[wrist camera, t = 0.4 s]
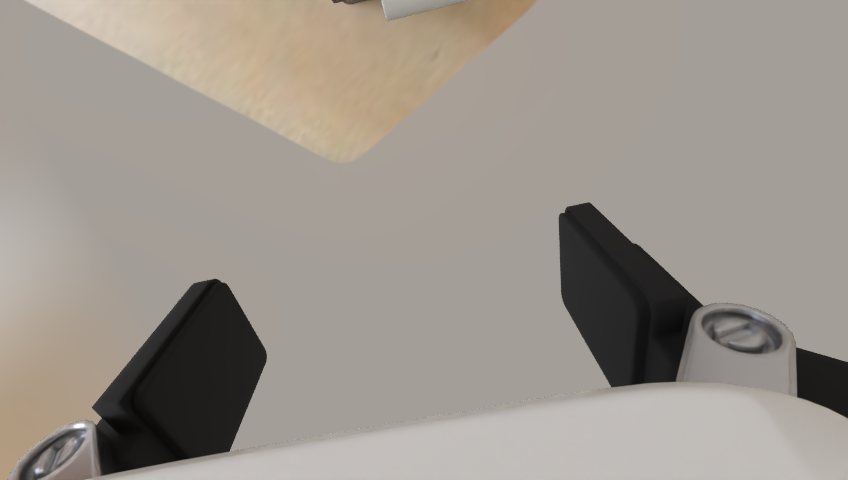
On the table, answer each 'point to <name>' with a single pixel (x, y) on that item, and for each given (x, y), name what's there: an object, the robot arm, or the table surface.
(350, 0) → the dark grey hinged box
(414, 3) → the lid
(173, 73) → the table surface
